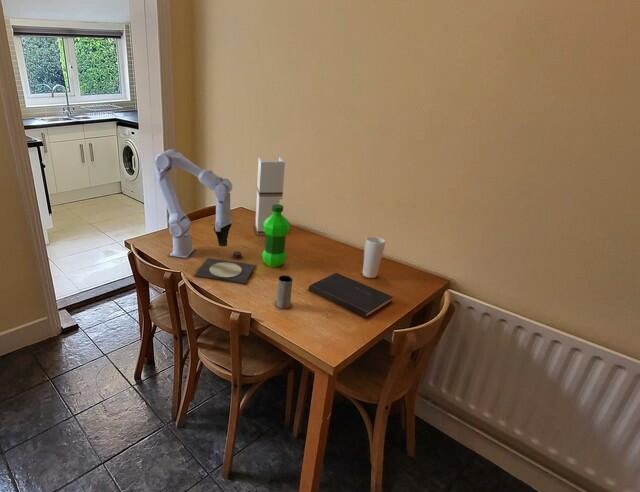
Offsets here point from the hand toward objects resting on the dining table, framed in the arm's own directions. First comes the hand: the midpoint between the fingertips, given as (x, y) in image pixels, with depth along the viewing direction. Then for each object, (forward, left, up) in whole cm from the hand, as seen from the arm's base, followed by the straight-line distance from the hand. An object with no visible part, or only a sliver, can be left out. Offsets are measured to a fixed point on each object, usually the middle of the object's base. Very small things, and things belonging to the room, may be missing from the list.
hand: (222, 241), depth 169 cm
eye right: (-4, +5, -8) cm, 10 cm away
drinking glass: (-4, +58, -8) cm, 59 cm away
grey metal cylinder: (+28, +30, -8) cm, 42 cm away
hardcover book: (+15, +51, -8) cm, 54 cm away
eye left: (0, 0, -1) cm, 1 cm away
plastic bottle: (-2, +21, -8) cm, 23 cm away
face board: (+10, +4, -8) cm, 13 cm away
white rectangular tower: (-38, +11, -8) cm, 41 cm away
